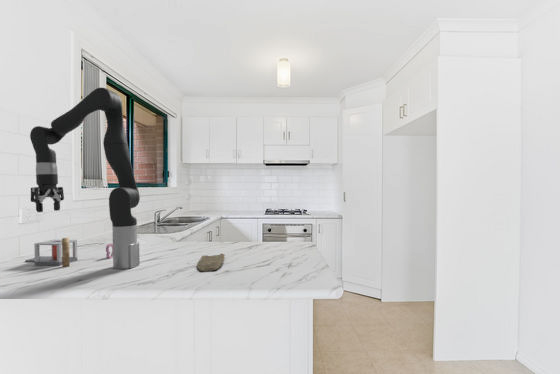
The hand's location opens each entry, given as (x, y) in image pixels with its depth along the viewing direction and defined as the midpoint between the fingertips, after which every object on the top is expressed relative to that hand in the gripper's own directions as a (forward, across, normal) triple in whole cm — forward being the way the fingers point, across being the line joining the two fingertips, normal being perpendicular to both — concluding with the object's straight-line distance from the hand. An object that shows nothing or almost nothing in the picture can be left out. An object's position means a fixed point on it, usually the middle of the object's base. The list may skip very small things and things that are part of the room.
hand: (48, 211), depth 138 cm
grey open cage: (+23, +5, +2) cm, 24 cm away
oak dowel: (+24, -1, -8) cm, 25 cm away
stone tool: (+26, +8, -69) cm, 74 cm away
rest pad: (+23, +9, +14) cm, 28 cm away
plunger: (+22, +5, +2) cm, 22 cm away
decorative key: (+24, +23, -16) cm, 37 cm away
